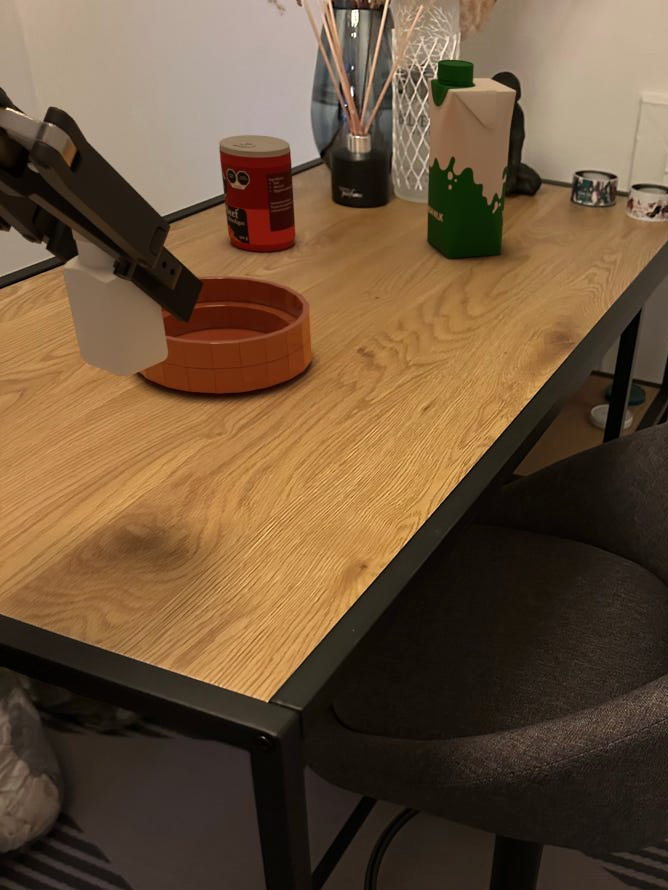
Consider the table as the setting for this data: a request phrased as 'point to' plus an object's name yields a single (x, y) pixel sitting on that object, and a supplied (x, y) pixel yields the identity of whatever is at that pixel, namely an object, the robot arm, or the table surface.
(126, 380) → the table surface
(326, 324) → the table surface
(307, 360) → the bowl
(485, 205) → the milk carton
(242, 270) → the table surface
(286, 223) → the canned food
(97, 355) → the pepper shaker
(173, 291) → the robot arm
